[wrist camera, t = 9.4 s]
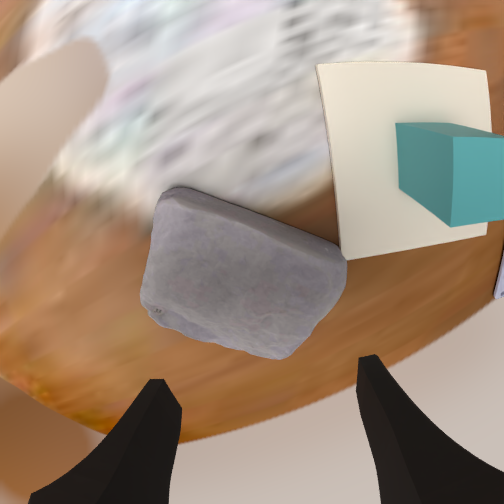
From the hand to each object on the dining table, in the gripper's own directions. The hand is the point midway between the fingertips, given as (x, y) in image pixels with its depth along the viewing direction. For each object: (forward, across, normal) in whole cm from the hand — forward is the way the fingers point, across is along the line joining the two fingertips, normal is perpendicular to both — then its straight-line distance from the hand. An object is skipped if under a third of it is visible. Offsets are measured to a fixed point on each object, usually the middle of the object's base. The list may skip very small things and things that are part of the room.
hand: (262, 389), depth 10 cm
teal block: (+10, -11, -5) cm, 16 cm away
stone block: (+11, +2, +1) cm, 11 cm away
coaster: (+10, -11, -5) cm, 16 cm away
